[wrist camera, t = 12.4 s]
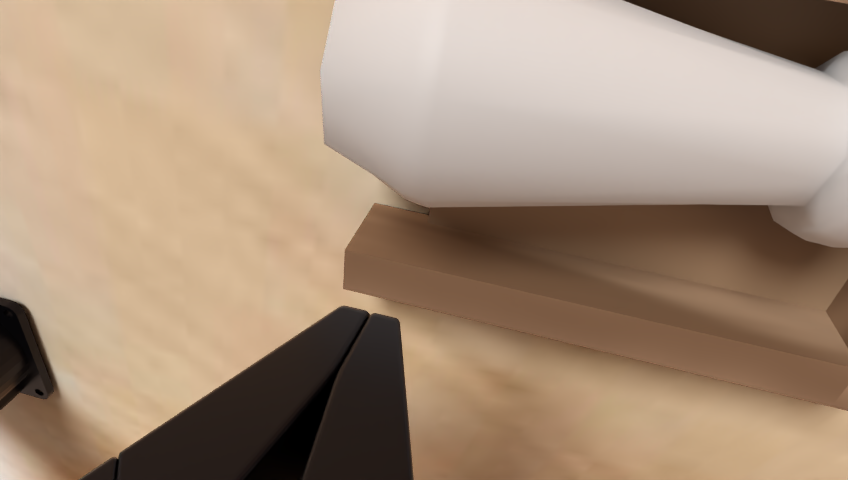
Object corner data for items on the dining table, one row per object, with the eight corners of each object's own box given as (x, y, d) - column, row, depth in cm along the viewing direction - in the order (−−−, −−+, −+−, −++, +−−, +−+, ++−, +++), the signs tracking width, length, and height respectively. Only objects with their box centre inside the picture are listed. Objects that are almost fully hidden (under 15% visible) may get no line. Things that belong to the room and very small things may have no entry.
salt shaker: (352, 184, 16) (802, 267, 16) (289, 196, 11) (993, 327, 10) (384, -25, 15) (865, 53, 15) (335, -132, 10) (1113, -14, 9)
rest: (845, 347, 18) (888, 420, 15) (371, 239, 20) (343, 288, 17) (1140, -49, 12) (1294, -31, 9) (401, -150, 14) (363, -159, 11)
